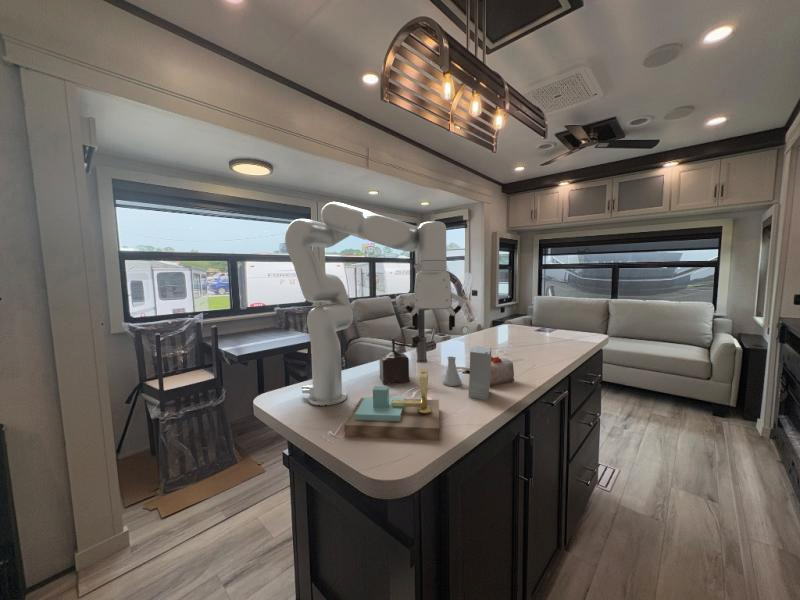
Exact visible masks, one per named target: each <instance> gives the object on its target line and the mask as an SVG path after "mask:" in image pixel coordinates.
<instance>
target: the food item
mask: <svg viewBox="0 0 800 600" xmlns="http://www.w3.org/2000/svg"><path fill="white" fill-rule="evenodd" d="M512 381H513V382H515V371H514V363H513V361H511V360H510V359H509V358H500V357H499V356H496V357H493V356H492V355H491V371H490V387H493V386H495V385H502V384H508V383H512ZM507 382H508V383H507Z"/></svg>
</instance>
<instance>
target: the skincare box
mask: <svg viewBox="0 0 800 600" xmlns="http://www.w3.org/2000/svg"><path fill="white" fill-rule="evenodd" d="M491 356H492V347H487V346H479V345H478V346H477V345H473V346H472V348H471V349H470V352H469V380H468V381H469V382H468V398H473V399H479V400H489V396H490V388H491V386H490V371H491Z"/></svg>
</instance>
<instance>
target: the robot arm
mask: <svg viewBox="0 0 800 600" xmlns="http://www.w3.org/2000/svg"><path fill="white" fill-rule="evenodd" d="M320 216H321V220H322V222H321V221H317V220H312V219H309V218H308V219H307V218H298V219H294V220H293V221H291V222H290V224H289V225H288V226H287V229H286V231H285V238H284V243H285V248H286V251H287V253H288V254H287V255H288V256H289V258H290V260H291V262H292V265H293V268H294V271H295V275H296V278H297V281H298V284H299V286H300V290H301V293H302V295H303V297H304V299H305V300H306V302H309V303H322V302H324V303H325V304H320V305H317V306H315V307H313V308H312V309H311V310H310V311H309V312H308V314H307V315H306V316H307V317H306V325H307V329H308V330H307V331H308V335H309V339H310V353H311V375H312V384H311V385H302V386H301V391H302V392H301V393H302V394H308V399H307V400H308V403H310V404H311V405H313V406H318V405H320V406H321V407H325V405H327V406H333V405H337V404H340V403H341V402H343V401H345V400H346V399H347V398H348V397H347V396H348V394H347V391H345V390H344V389H343V381H342V353H341V352H342V351H341V342H340V341H341V340H340V338H339V337H338V334H337V332H338V331H342V330H346V329H348V328H349V327H350V326H351V325H352V323H353V322H354V311H353V308H352V305H351V302H350V299H349V296H348V295H349V294H348V292H347V290H346V287H345V285H344V282H343V280H341V278H340V277H339V276H337V275H335V274H330V273H328V274H327V273H325V272H324V269H323V268H322V265H321V261H320V259H319V257H318V256H317V255H316V253H315V252H314V251H313V249H312V247H313V248H314V247H316V248H323V249H326V248H327V249H328V248H330V247H333V246H335V245H337V244H339V243H340V242H342V241H343V240H345V239H347V238H348V237H350V236H354V237H356V238H358V239H362V240H366V241H369V242H372V243H376V244H378V245H381V246H384V247H388V248H390V249H393V250H394V249H395V250H399V251H404V252H411V253H412V252H417V251H418V263H415V264H413V268H414V270H418V272H417V273H415V280H414V289H413V294H411V295H409V296H407V297H406V298H404V299H402V303H403V305H404V307H405V309H406V311H407V312H409V313H410V315H411V317H412V318H411V319H412V327H413V328H414V329H413V330H415V331H416V330H418V329H419V327H420V318H419V317H420V315H419V312H420V310H446V311H447V312H448V313H449V316H448V330H449V331H453V329H454V328H455V327H456V315H457V314H458V313H459V312H460V310H461V309H462V307H463V306H464V305H465V304H464V303H465V302H466V299H465V298H463V297H461V296H459V295H457V294H456V293H453V292H452V291H453V290H452V281H451V275H450V272H447V265H448V264H447V225H446V224H445V223H444V222H442V221H438V220H437V221H436V220H435V221H432V220H431V221H424V222H422V223H420V224H419V225H413V224H411V223H408V222H405V221H402V220H399V219H396V218H395V219H394V218H391V217H389V216H385V215H381V214H378V213H374V212H372V211H370V210H367V209H363V208H360V207H357V206H353V205H349V204H346V203H343V202H337V201H332V202H331V201H330V202H328V203H326V204H325V205H324V206H323V207H322V209H321V213H320ZM453 300H454V301H457V302H458V304H457V305H456V307H455V308H453V306H452V303H453ZM411 301H413V306H414V307H413V306H412V305H411V304H410V302H411ZM320 406H319V407H320Z"/></svg>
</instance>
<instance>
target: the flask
mask: <svg viewBox="0 0 800 600" xmlns="http://www.w3.org/2000/svg"><path fill="white" fill-rule="evenodd" d="M456 360H457V357H456V356H447V368H446V369H445V373H444V376H443V379H442V382H441V383H442V384H443V385H444V386H450V387H457V386H460V385H462V380H461V378H460V375H459V372H458V370H457V365H456Z"/></svg>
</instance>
